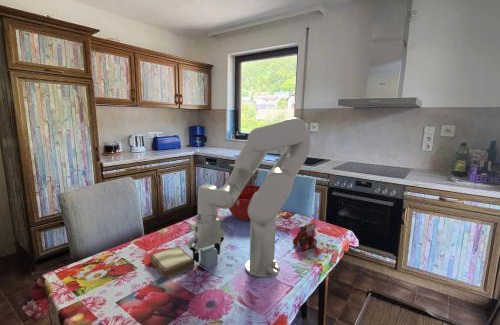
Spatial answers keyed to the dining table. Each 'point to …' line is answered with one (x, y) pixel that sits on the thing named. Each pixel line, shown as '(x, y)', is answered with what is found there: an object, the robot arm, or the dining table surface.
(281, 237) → the dining table surface
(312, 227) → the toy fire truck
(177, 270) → the plinth
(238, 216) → the mixing bowl
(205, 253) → the block
